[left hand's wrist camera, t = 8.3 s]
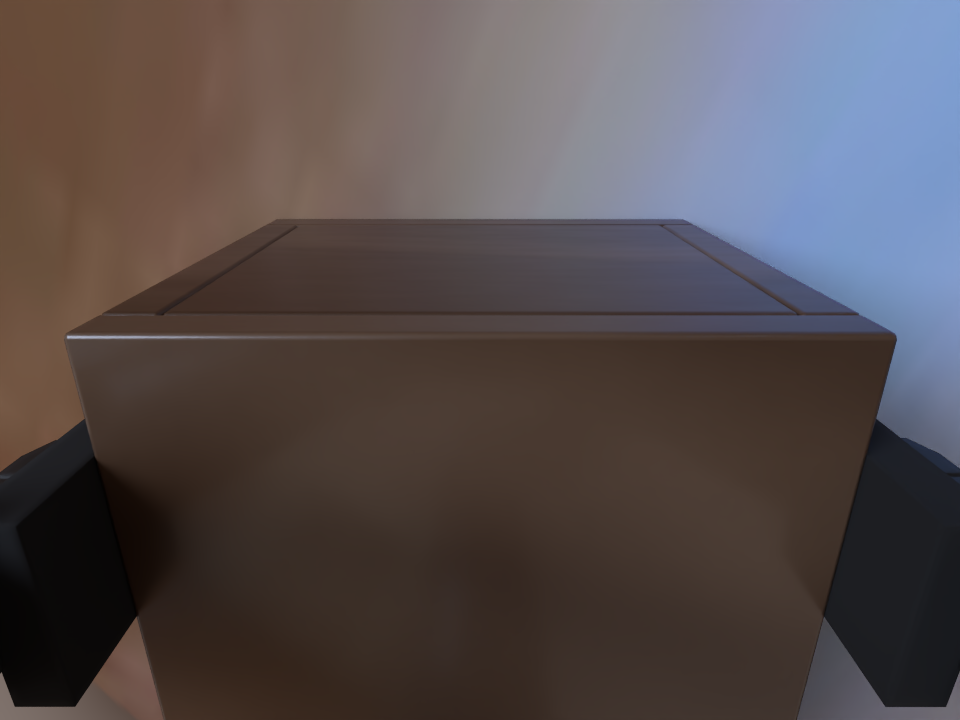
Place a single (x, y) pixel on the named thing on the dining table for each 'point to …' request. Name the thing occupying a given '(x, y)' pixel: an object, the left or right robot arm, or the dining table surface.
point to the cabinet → (480, 470)
